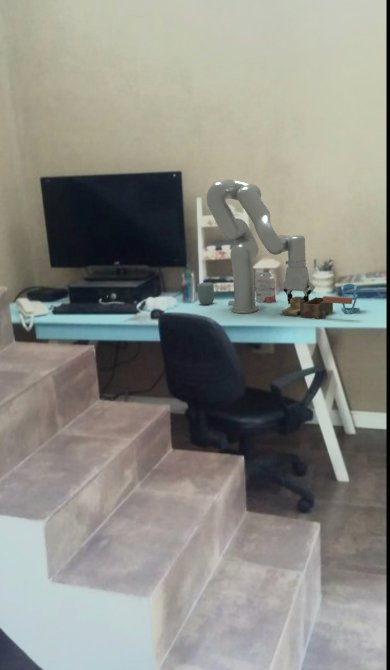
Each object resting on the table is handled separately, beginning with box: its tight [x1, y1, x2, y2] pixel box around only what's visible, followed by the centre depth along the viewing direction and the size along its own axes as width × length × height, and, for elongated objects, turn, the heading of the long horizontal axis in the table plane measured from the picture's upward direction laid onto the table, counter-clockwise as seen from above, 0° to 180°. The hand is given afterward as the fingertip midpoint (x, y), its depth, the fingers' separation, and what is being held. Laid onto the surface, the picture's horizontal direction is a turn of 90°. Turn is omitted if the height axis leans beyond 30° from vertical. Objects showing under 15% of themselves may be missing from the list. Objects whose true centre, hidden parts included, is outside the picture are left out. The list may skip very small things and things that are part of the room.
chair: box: [340, 283, 361, 315], centre depth 278 cm, size 8×8×12 cm
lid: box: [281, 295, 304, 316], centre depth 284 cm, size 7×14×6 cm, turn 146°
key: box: [322, 295, 353, 305], centre depth 266 cm, size 12×2×2 cm, turn 56°
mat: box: [280, 312, 300, 317], centre depth 285 cm, size 10×12×1 cm
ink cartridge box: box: [254, 271, 277, 304], centre depth 310 cm, size 9×5×15 cm, turn 55°
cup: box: [196, 282, 215, 306], centre depth 315 cm, size 8×8×10 cm
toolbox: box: [299, 297, 334, 320], centre depth 277 cm, size 10×14×7 cm
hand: (298, 303), depth 285 cm, fingers open, 7 cm apart
